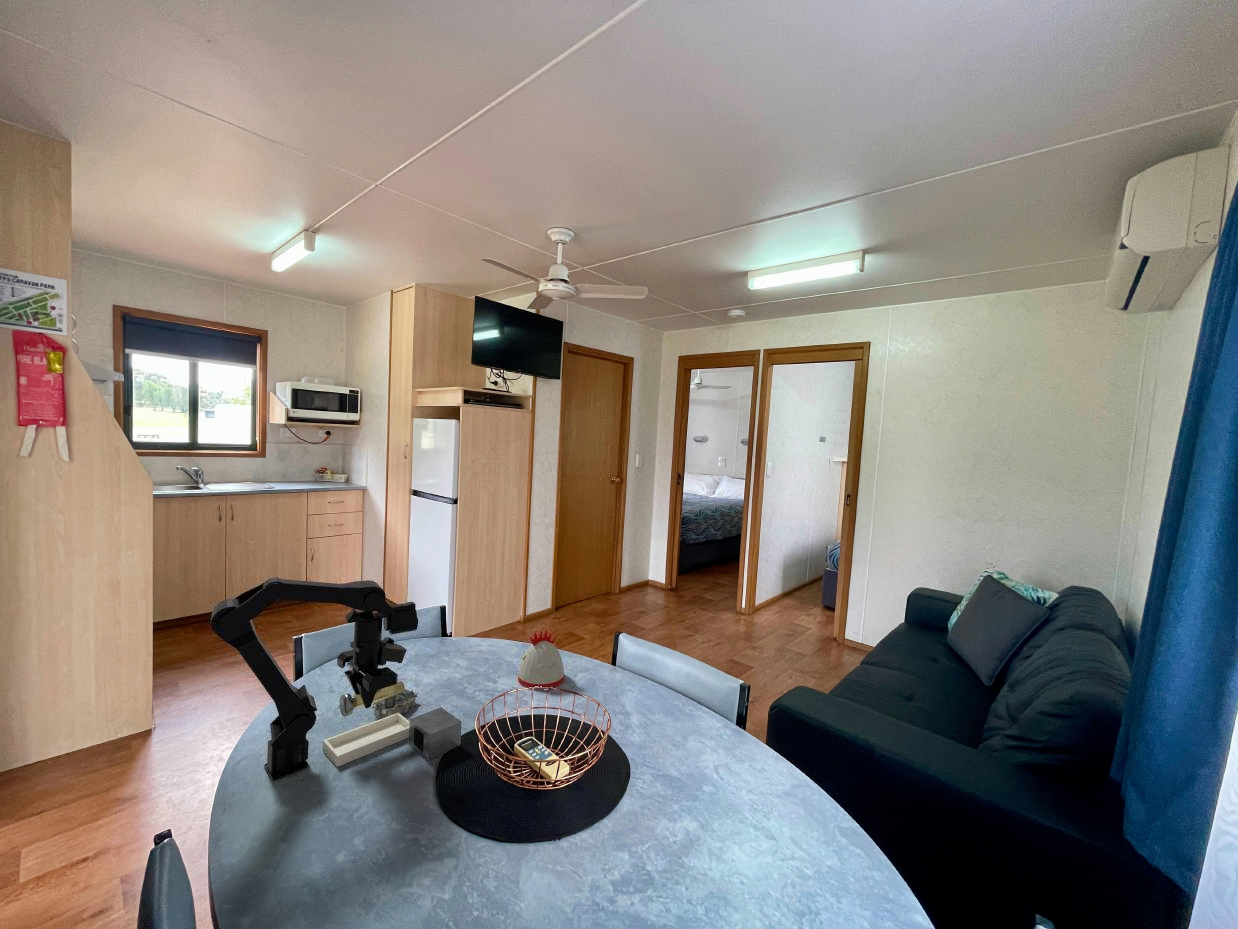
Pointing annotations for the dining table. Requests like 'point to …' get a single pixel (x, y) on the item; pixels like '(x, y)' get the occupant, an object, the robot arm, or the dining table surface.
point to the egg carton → (400, 706)
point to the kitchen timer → (541, 663)
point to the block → (434, 733)
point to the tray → (366, 739)
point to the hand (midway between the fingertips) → (364, 705)
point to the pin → (356, 701)
